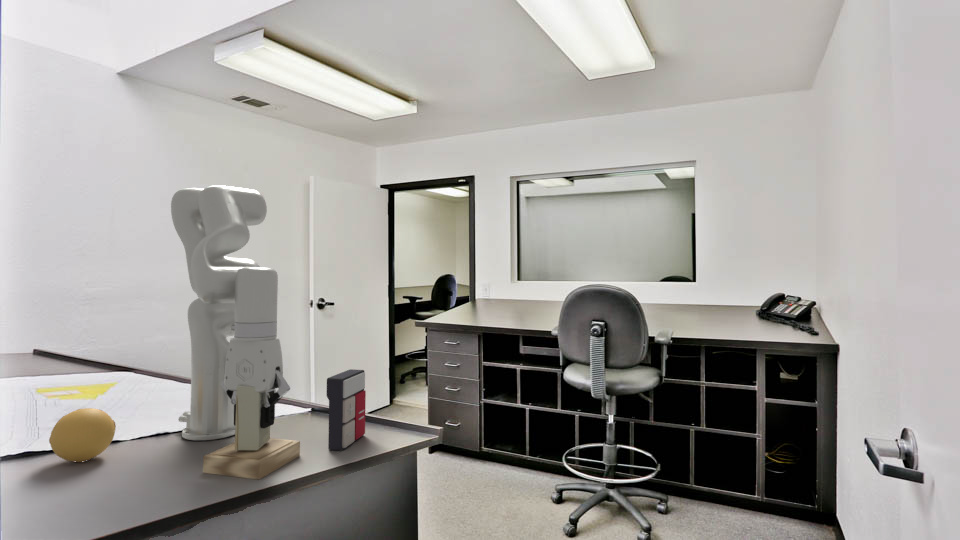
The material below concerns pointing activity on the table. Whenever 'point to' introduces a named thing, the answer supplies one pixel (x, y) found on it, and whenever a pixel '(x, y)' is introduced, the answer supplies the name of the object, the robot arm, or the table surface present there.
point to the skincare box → (249, 420)
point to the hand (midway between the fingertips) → (254, 424)
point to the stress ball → (82, 434)
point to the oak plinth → (251, 459)
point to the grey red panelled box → (346, 408)
